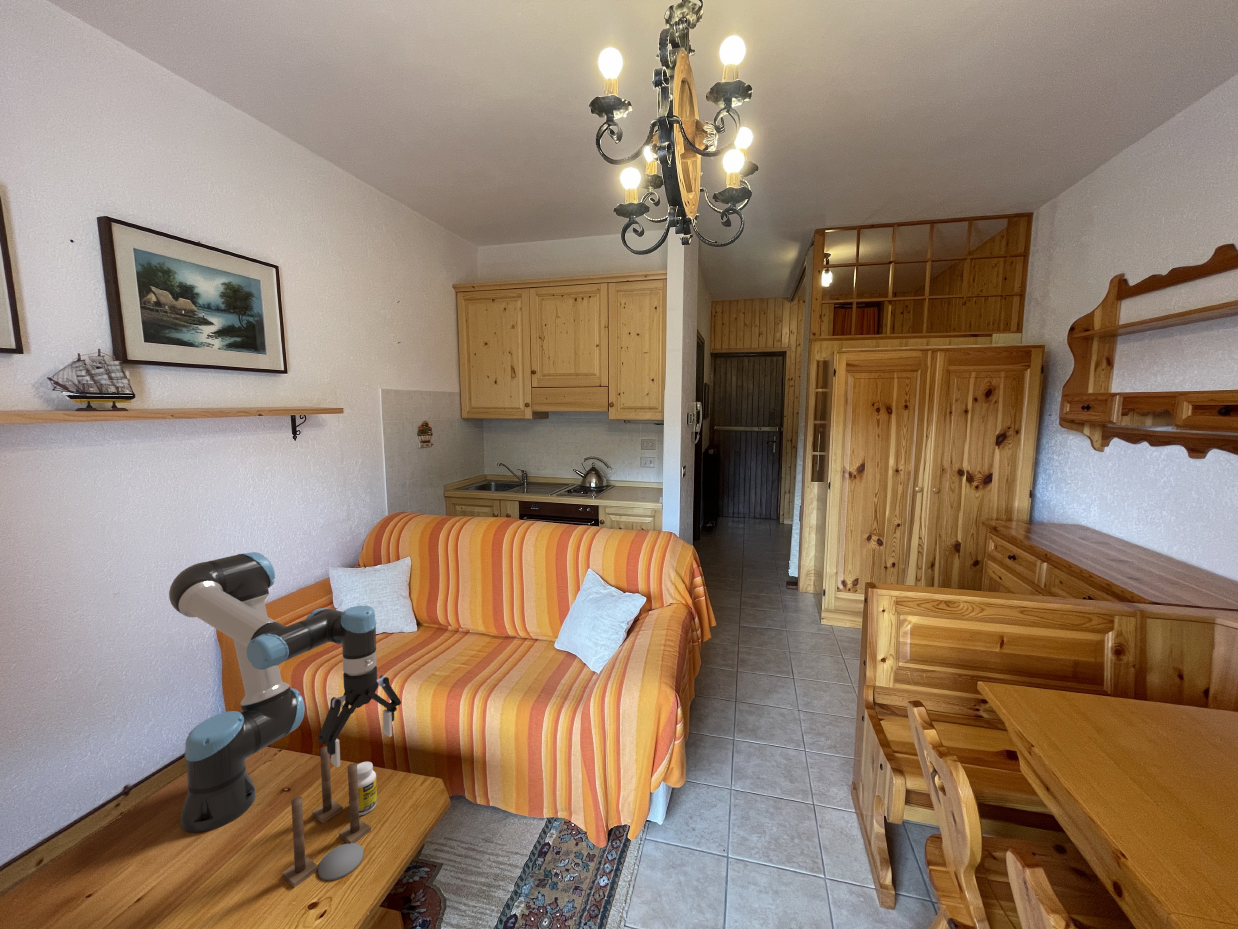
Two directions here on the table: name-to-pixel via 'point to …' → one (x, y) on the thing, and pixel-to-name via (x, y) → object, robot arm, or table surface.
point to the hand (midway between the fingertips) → (363, 749)
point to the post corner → (354, 810)
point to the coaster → (340, 861)
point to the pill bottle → (366, 787)
